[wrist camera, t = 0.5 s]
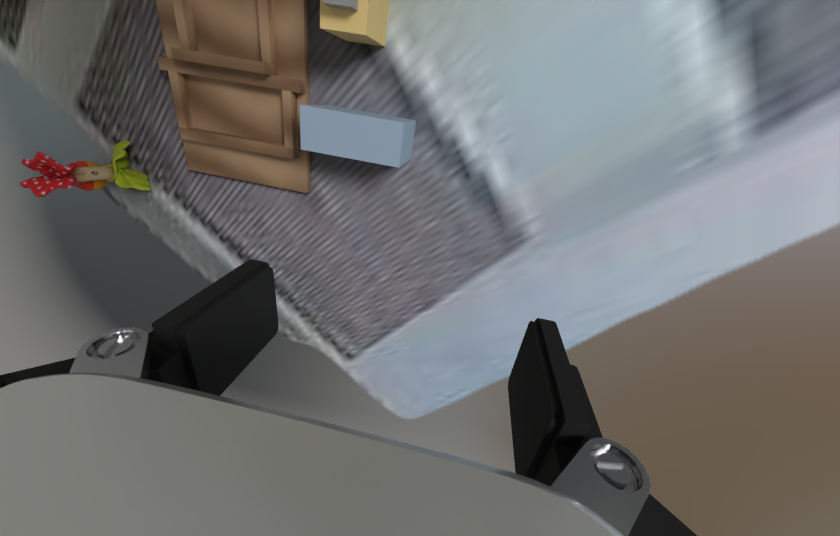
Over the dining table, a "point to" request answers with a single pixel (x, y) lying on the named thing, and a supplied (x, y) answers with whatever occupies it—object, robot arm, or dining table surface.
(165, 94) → the dining table surface
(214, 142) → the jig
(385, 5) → the block
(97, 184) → the bird rattle
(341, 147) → the plank
